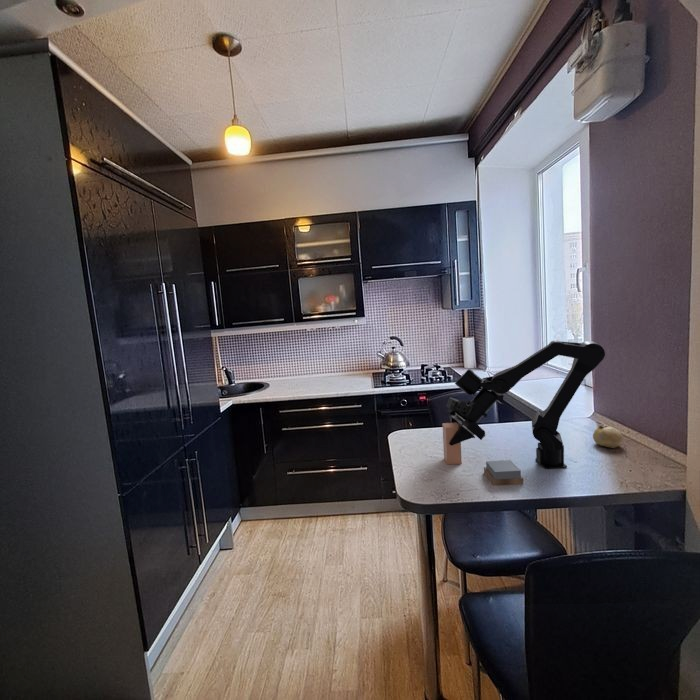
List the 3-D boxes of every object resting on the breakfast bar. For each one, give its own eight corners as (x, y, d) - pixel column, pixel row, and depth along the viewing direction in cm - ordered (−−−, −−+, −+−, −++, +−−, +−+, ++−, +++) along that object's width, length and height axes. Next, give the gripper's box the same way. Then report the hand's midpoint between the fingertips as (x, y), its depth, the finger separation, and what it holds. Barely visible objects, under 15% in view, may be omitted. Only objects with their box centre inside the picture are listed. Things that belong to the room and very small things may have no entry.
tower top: (510, 467, 108) (510, 459, 108) (520, 478, 101) (520, 470, 101) (486, 468, 108) (486, 461, 108) (495, 479, 101) (494, 471, 101)
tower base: (511, 472, 109) (511, 465, 109) (523, 485, 101) (523, 478, 101) (484, 474, 109) (483, 467, 109) (493, 487, 101) (493, 479, 101)
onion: (613, 440, 125) (613, 420, 124) (628, 450, 117) (628, 428, 116) (588, 441, 126) (588, 421, 125) (601, 450, 118) (601, 429, 117)
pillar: (457, 457, 120) (456, 422, 119) (461, 463, 116) (460, 427, 114) (444, 458, 121) (442, 423, 119) (447, 464, 116) (445, 427, 115)
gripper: (451, 383, 125) (421, 417, 126) (473, 396, 106) (437, 436, 107) (475, 403, 126) (445, 437, 127) (500, 419, 108) (465, 459, 109)
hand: (447, 441), depth 117 cm, fingers closed on pillar, 5 cm apart
